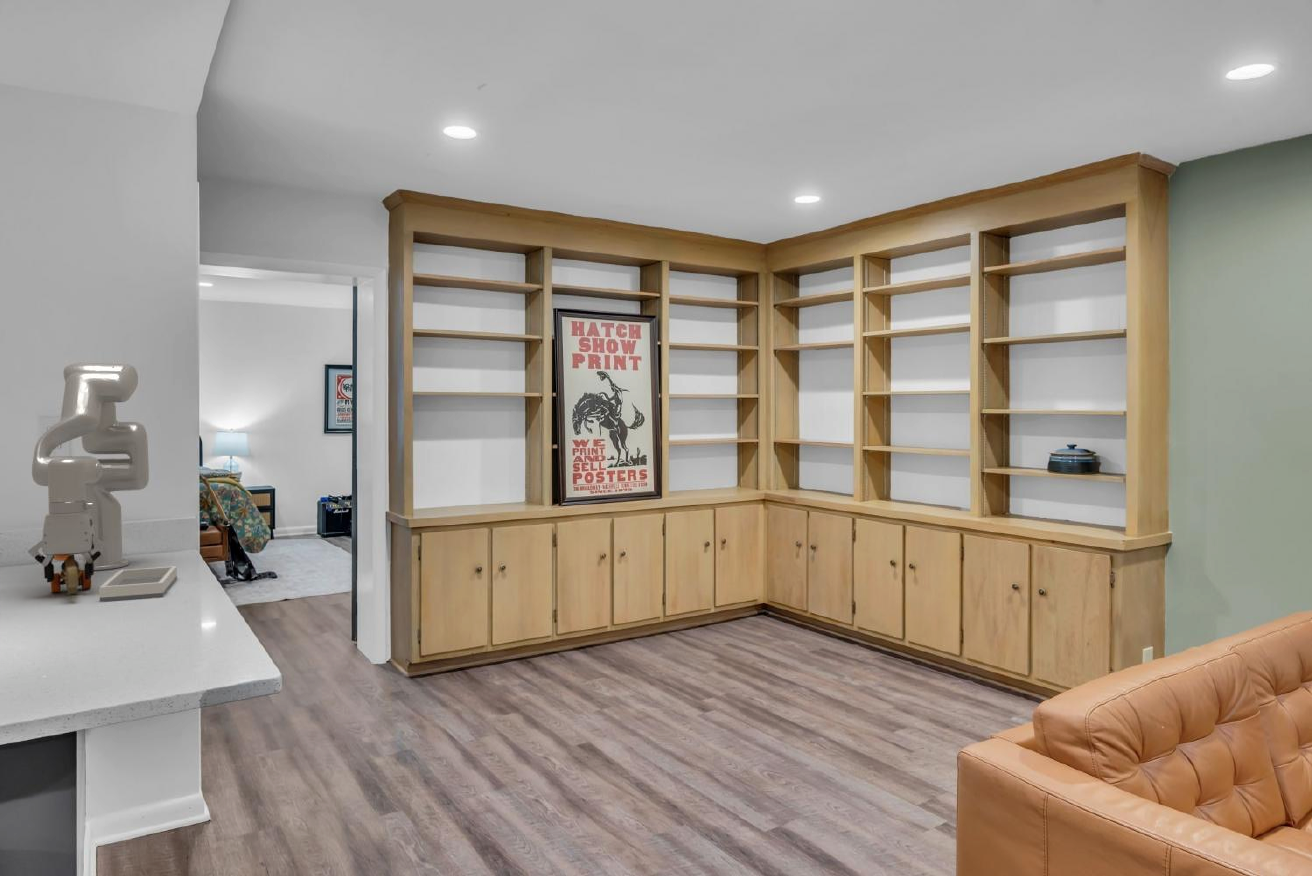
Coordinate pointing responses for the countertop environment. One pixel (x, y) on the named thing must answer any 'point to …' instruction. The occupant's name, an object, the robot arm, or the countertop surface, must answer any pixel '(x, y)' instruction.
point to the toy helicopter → (69, 575)
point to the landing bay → (138, 583)
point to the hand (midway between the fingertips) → (69, 579)
